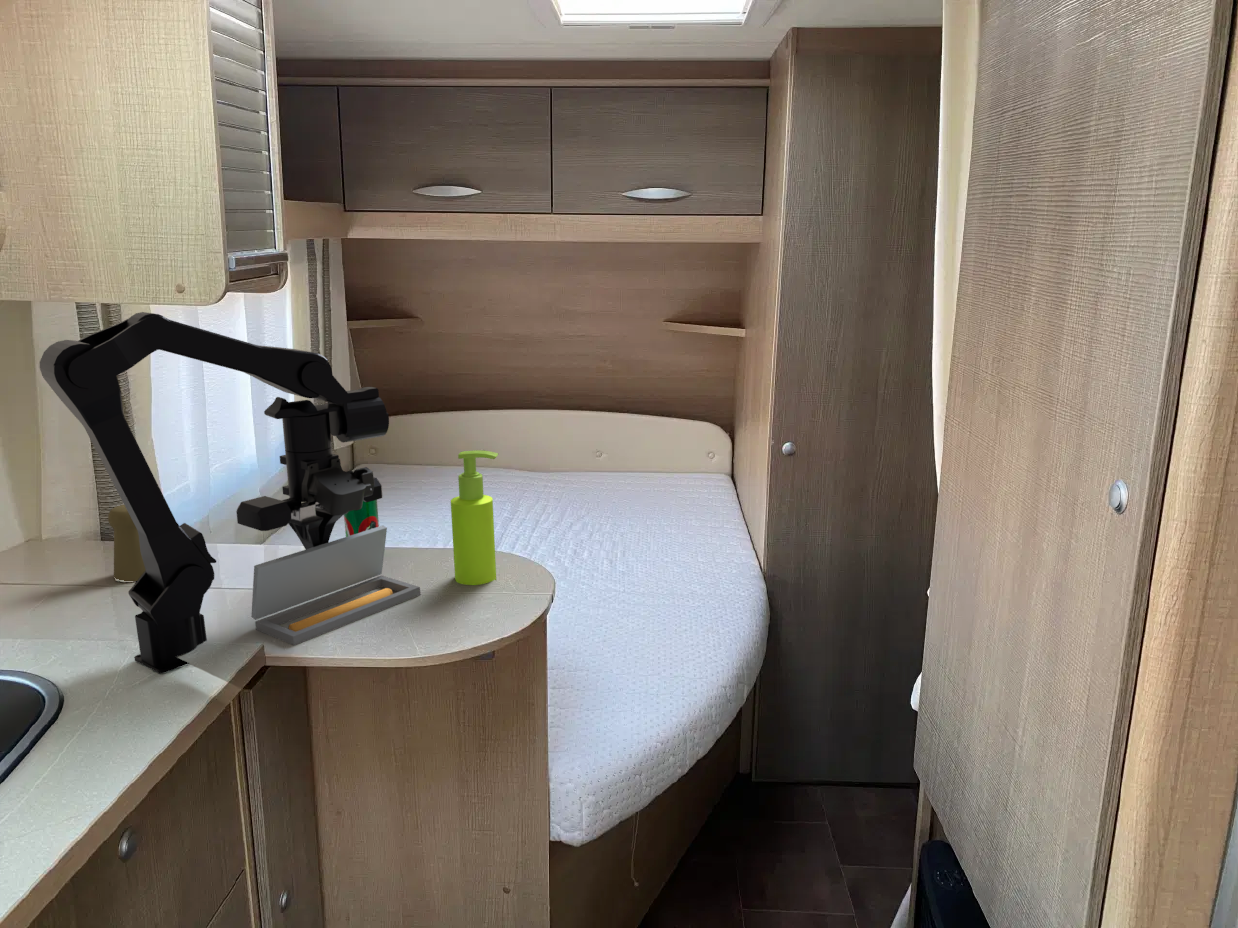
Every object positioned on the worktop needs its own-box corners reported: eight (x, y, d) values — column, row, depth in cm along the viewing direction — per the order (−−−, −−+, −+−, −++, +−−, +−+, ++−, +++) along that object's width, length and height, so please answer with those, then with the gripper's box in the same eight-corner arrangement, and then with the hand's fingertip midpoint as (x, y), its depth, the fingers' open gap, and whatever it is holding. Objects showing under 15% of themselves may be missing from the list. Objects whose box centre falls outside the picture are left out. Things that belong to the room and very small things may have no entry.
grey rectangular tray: (295, 655, 113) (293, 636, 112) (257, 639, 118) (255, 621, 117) (421, 603, 128) (419, 586, 128) (383, 591, 133) (381, 575, 133)
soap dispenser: (500, 594, 132) (494, 456, 127) (451, 594, 132) (443, 456, 127) (506, 579, 137) (500, 447, 133) (460, 579, 138) (452, 447, 133)
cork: (114, 585, 137) (103, 513, 135) (113, 573, 142) (102, 503, 140) (159, 577, 140) (150, 507, 137) (157, 566, 145) (147, 498, 143)
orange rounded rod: (296, 637, 117) (295, 625, 116) (289, 634, 118) (288, 622, 117) (395, 598, 129) (394, 587, 128) (388, 596, 130) (387, 585, 129)
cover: (257, 568, 114) (254, 565, 114) (255, 619, 117) (251, 616, 117) (387, 527, 130) (383, 525, 130) (381, 573, 132) (378, 571, 133)
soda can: (386, 559, 147) (380, 485, 144) (375, 570, 142) (369, 494, 139) (355, 558, 147) (349, 485, 144) (343, 569, 142) (336, 494, 139)
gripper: (283, 472, 108) (294, 597, 112) (406, 443, 123) (412, 555, 126) (228, 458, 114) (240, 577, 118) (352, 432, 129) (359, 539, 133)
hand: (317, 562), depth 124 cm, fingers closed, pressing on cover
